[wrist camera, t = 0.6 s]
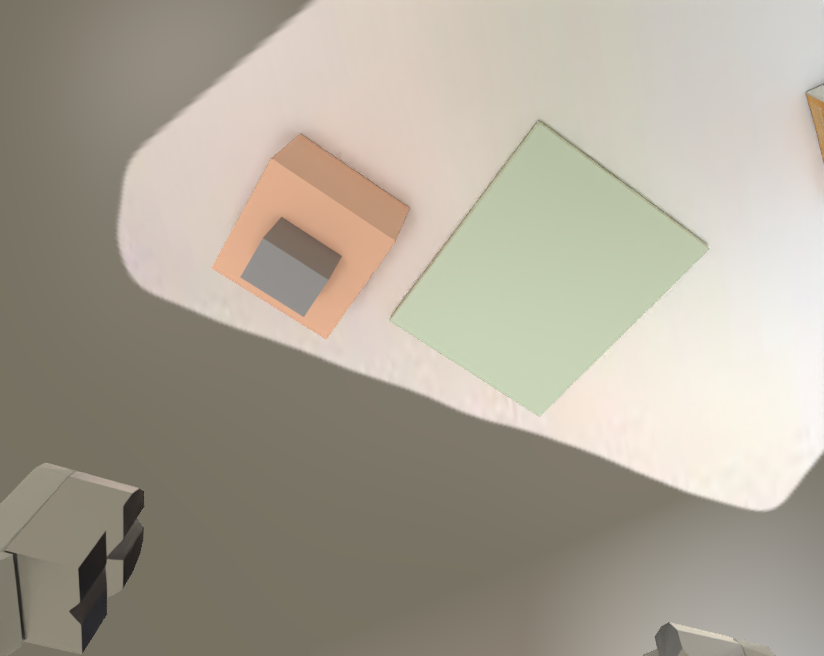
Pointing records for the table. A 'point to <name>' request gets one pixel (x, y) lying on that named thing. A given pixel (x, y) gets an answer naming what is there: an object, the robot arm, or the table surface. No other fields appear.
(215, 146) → the table surface
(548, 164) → the sage board
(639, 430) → the table surface
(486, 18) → the table surface
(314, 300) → the peach base with post
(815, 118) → the small box
